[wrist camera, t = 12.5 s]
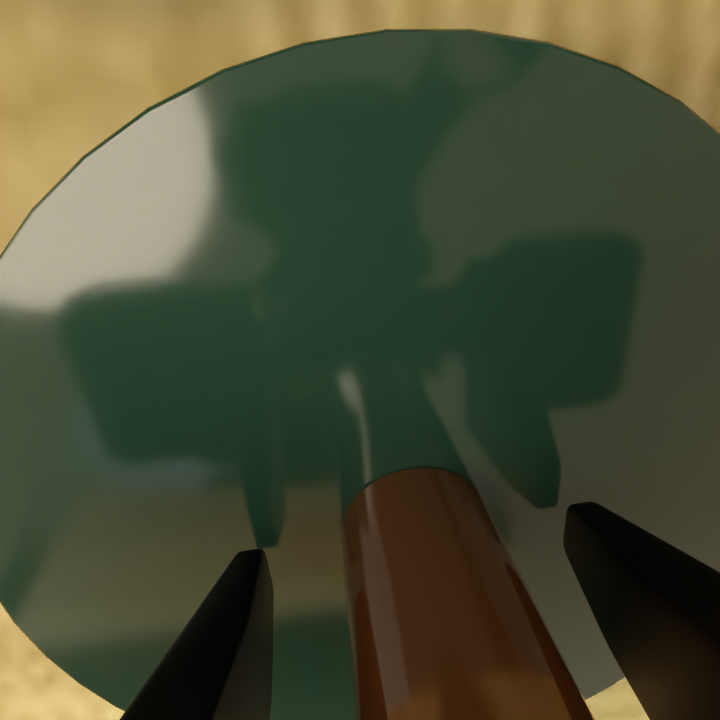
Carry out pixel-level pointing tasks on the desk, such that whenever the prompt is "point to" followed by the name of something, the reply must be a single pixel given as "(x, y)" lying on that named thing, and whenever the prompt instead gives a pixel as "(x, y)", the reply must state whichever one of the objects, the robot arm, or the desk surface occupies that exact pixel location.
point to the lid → (364, 370)
